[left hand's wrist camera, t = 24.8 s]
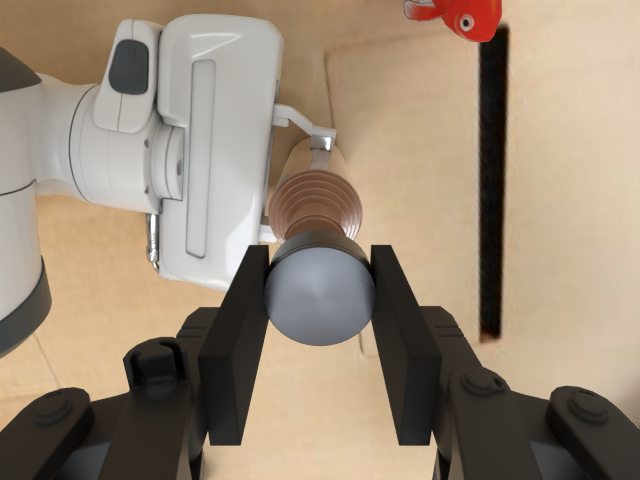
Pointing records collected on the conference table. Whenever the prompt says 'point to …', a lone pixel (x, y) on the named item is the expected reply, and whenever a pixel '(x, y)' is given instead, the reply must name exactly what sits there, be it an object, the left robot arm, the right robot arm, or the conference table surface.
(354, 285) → the cap
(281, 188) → the bottle
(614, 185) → the conference table surface
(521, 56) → the conference table surface
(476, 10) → the fish
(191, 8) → the conference table surface
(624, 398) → the conference table surface
